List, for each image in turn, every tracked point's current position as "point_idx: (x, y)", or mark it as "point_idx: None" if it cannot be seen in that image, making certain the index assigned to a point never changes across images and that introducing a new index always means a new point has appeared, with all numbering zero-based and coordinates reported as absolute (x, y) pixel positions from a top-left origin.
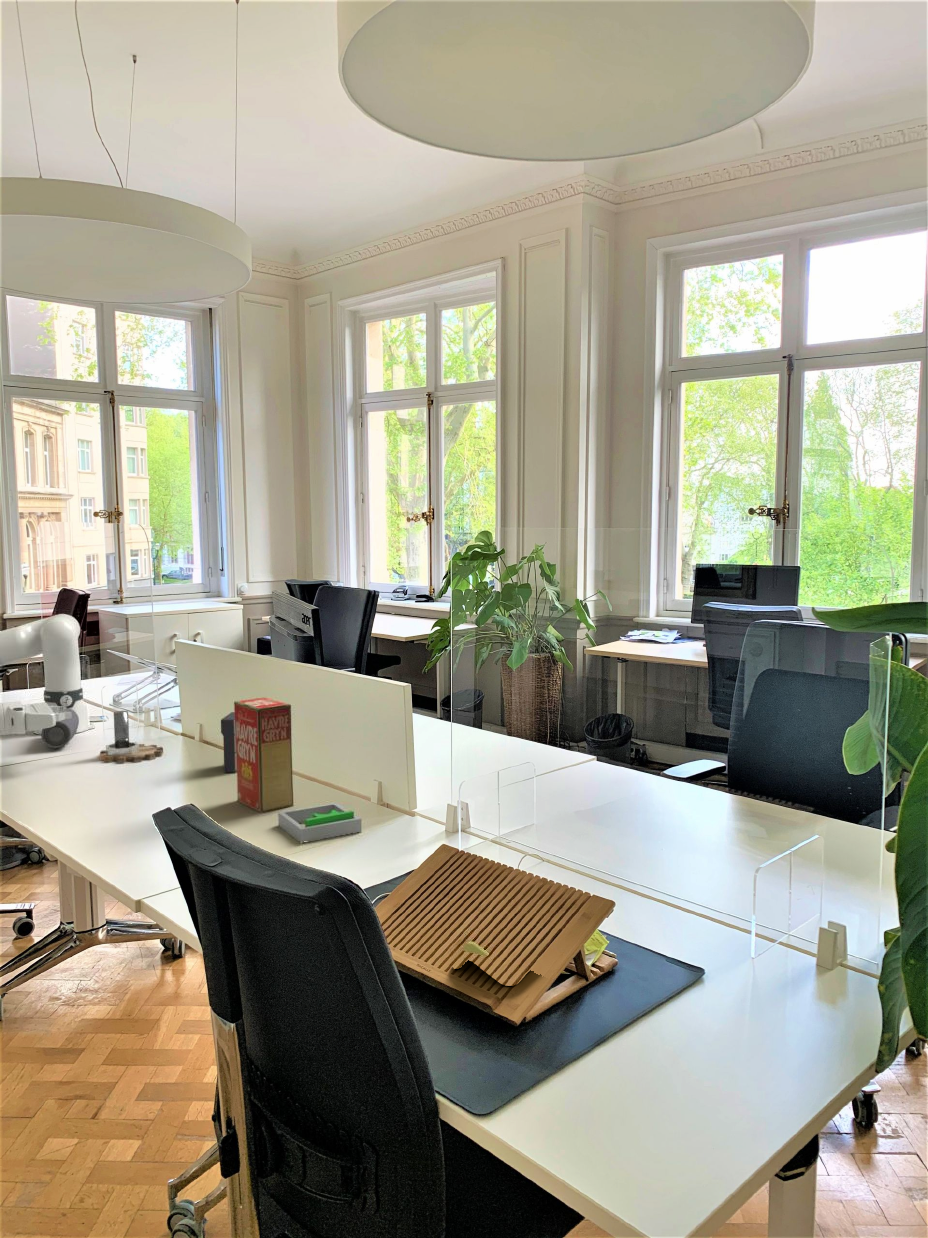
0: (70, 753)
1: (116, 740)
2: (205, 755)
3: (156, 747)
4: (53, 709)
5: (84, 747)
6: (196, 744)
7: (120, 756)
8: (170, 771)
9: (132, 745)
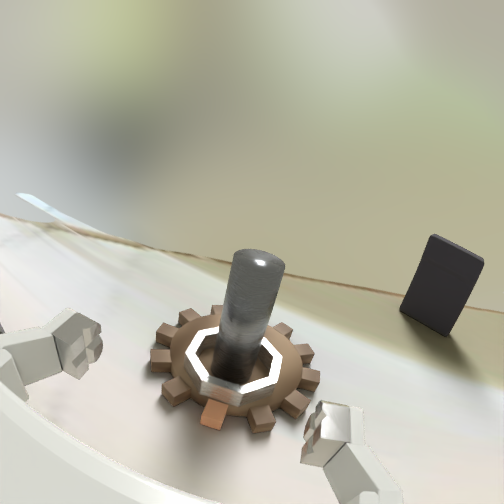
0: (47, 410)
1: (245, 356)
2: (329, 304)
3: None
4: (15, 364)
5: None
6: None
7: (283, 396)
8: (419, 376)
9: None
